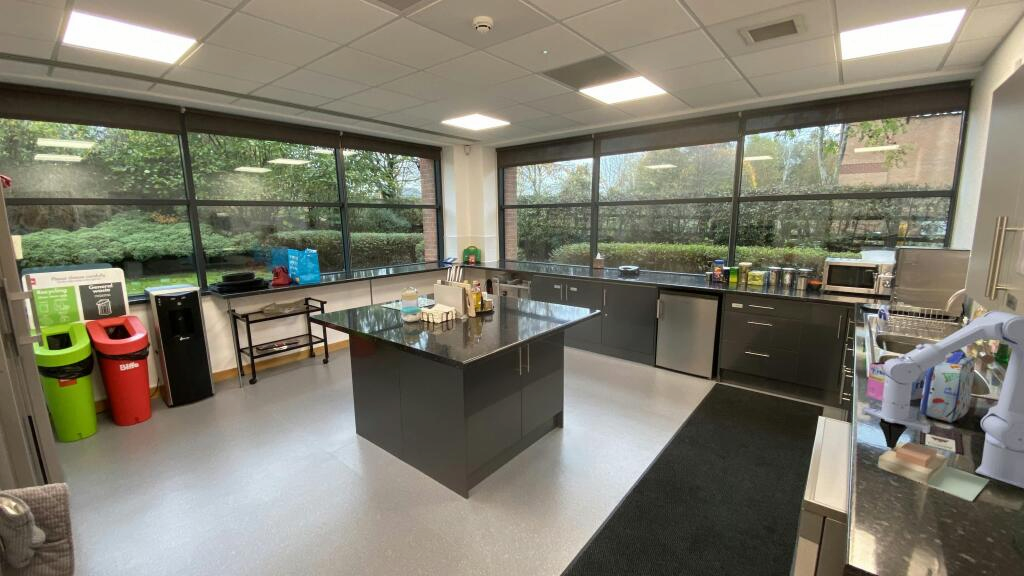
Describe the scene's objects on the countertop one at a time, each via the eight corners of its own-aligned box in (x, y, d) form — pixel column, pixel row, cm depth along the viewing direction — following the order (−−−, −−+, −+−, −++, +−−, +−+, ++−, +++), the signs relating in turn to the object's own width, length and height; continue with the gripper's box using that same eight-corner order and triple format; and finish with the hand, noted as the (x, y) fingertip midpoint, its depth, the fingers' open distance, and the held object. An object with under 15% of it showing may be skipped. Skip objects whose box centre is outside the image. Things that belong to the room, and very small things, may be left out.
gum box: (912, 390, 171) (916, 358, 169) (935, 397, 163) (939, 363, 161) (865, 395, 166) (868, 362, 164) (887, 403, 158) (890, 369, 157)
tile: (936, 457, 115) (936, 450, 115) (924, 467, 110) (925, 460, 110) (907, 448, 120) (908, 441, 120) (895, 457, 116) (896, 450, 115)
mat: (989, 481, 109) (989, 479, 109) (971, 502, 101) (971, 500, 101) (946, 466, 116) (946, 465, 116) (926, 485, 108) (926, 484, 108)
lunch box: (932, 399, 161) (939, 344, 158) (972, 408, 153) (980, 350, 150) (915, 419, 145) (922, 357, 142) (958, 430, 137) (966, 365, 134)
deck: (946, 466, 116) (947, 456, 116) (926, 485, 108) (928, 474, 107) (899, 451, 124) (900, 441, 124) (877, 467, 116) (878, 457, 116)
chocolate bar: (960, 431, 134) (962, 453, 122) (959, 434, 134) (961, 456, 122) (921, 423, 141) (919, 442, 128) (920, 425, 141) (918, 445, 128)
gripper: (858, 396, 122) (854, 440, 124) (926, 414, 110) (920, 462, 111) (868, 391, 126) (864, 433, 127) (935, 407, 113) (929, 454, 115)
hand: (891, 446), depth 120 cm, fingers closed
